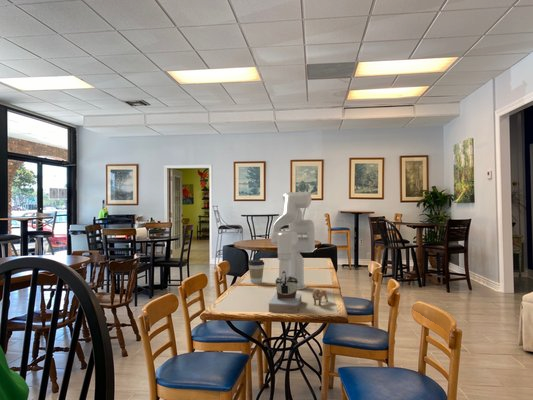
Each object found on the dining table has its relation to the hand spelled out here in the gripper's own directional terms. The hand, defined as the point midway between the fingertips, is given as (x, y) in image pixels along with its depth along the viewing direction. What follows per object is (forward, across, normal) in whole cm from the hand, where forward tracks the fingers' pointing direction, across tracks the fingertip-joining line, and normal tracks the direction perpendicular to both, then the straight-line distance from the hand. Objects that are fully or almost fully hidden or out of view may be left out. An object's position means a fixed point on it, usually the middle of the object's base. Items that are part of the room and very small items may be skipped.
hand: (285, 291), depth 177 cm
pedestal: (+8, 0, 0) cm, 8 cm away
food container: (+3, -2, 0) cm, 4 cm away
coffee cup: (+8, -51, -27) cm, 58 cm away
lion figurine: (+8, -6, +17) cm, 20 cm away
